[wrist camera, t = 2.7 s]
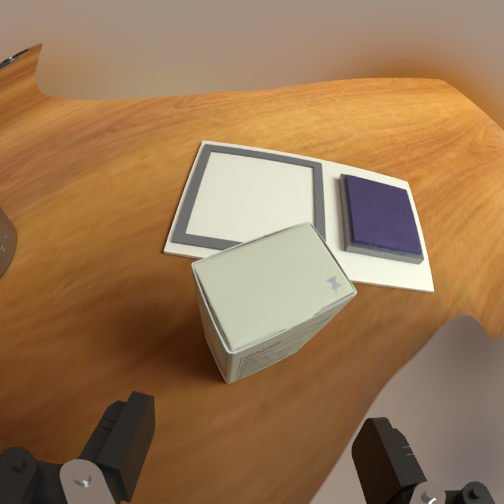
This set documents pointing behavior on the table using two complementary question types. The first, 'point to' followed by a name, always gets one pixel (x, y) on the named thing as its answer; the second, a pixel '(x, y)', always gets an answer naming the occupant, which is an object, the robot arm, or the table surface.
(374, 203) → the ink pad
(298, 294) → the skincare box
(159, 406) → the table surface
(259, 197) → the marked board
